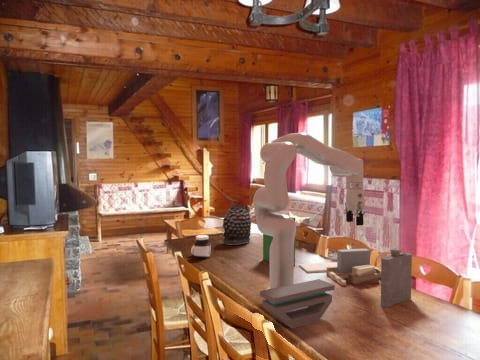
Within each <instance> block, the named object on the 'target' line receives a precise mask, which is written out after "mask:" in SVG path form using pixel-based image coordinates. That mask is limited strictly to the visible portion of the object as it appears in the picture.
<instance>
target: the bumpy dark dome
mask: <svg viewBox="0 0 480 360" xmlns="http://www.w3.org/2000/svg"><path fill="white" fill-rule="evenodd" d="M251 208H252V206H251V205H250V204H246V205H243V204H242V205H233V204H231V205H230V208H229V209H228V210H227V212H226V214H224V218H223V221H222V227H223V233H222V237H223V238H224V239H223V243H224V245H230V246H231V245H234V246H235V245H242V244H247V243H250V241H251V238H250V236H251V232H252V231H251V229H252V227H251V226H252V218H251Z"/></svg>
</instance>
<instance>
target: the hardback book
mask: <svg viewBox="0 0 480 360" xmlns="http://www.w3.org/2000/svg"><path fill="white" fill-rule="evenodd" d="M290 217H291V216H290ZM291 218H293V219H294V221H295V222H296V217H291ZM272 240H273V237H272V236H268V235H265V234H263V233H262V259H263V261H265V262H268V263H270V255H269V253H270V245H271V242H272ZM294 266H296V238H295V239H294Z"/></svg>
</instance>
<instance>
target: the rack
mask: <svg viewBox="0 0 480 360" xmlns="http://www.w3.org/2000/svg"><path fill="white" fill-rule="evenodd" d="M370 265H371V266H374V267H375V273H377V274H379V279H380V280H381V268H379V267H377V266H375V265H373V264H370ZM349 273H352V272H349ZM326 275H327V276H328V277H329V278H330V279H332V280H334V281H335V282H336V283H338V284H339V285H340V286H342V287H345V286H347V280H348V273H337V267H327V272H326Z"/></svg>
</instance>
